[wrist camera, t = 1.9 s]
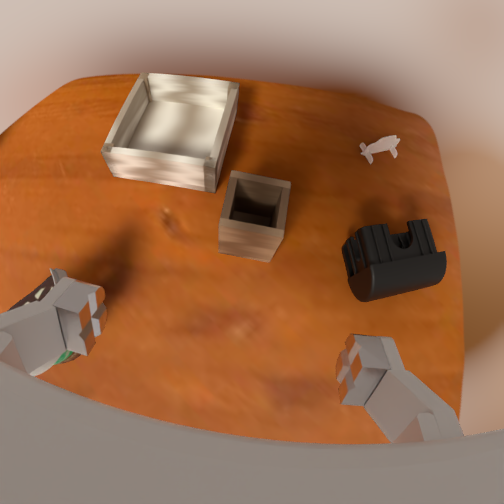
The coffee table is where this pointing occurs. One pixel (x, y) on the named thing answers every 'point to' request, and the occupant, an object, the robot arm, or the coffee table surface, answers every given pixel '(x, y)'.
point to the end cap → (392, 261)
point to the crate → (173, 131)
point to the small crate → (253, 216)
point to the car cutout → (380, 147)
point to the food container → (38, 296)
